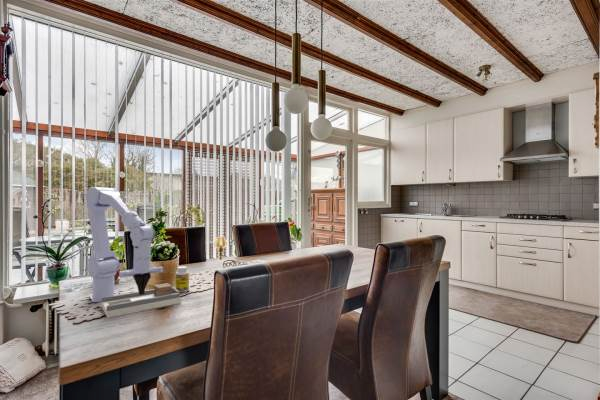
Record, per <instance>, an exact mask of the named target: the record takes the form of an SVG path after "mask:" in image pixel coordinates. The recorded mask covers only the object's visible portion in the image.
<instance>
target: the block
mask: <svg viewBox="0 0 600 400" xmlns="http://www.w3.org/2000/svg"><path fill="white" fill-rule="evenodd" d="M153 286H154V288H153V289H154V296H156V297H158V296H163V295H169V294H172V287H173V285H171V284H170V283H168V282H166V283H165V282H163V283H159V284H154V285H153Z"/></svg>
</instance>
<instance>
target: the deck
mask: <svg viewBox="0 0 600 400" xmlns="http://www.w3.org/2000/svg"><path fill="white" fill-rule="evenodd" d="M100 303H101V304H100V306H101V309H102V311H103V312H104V314H105V316H106V318H107V319H109V318H115V317H118V316H122V315H123V316H124V315H128V314H133V313H139V312H144V311H148V310H152V309H158V308H163V307H164V308H165V307H169V306H173V305H178V304H181V303H182V297H181V292H179V291H178V290H176V289H175V287H174V286H172V294H169V295H163V296H158V297H156V296H154V288H152V289H145V292H144V294H142V295H140V294H139V291H138V290H137V291H133V292H128V293H121V294H115V295H113V296H107V297H102V301H100Z"/></svg>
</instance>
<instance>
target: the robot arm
mask: <svg viewBox="0 0 600 400" xmlns="http://www.w3.org/2000/svg"><path fill="white" fill-rule="evenodd" d="M84 196H85V201H86V209H87V210H88V217H89V224H90V231H91V232H90V233H91V237H92V239H91V240H92V243H93V244H92V246H93V254H91V256H89V258H88V259H87V269H86V270H87V273H88V275H89V276H90V278H92V294H90V295H89V297H90V300H91V302H92V303H98V302H101V301H102V297H107V296H113V295H116V294H115V283H114V275H115V274H116V272H117V271H118V270H119V269H120V266H121V265H120V261H119V259H118V257H117V256H118V255H117V252H116V253H114V252H112V251H113V250H111V246H110V240H109V234H108V233H109V232H108V226H107V225H108V224H107V219H106V211H107V210H108V209H110V208H112V209H113V210H114V211H115V212H116V213H117V214H118V215H119V216H120V217H121V220H120V221H121V223H122V224H123V225H124V227H126V228H127V230H128V231H129V232H130V234H129V237H130V239H131V242H132V244H131V245H132V246H133V262H132V264H133V267H132V269H127V270H120V272H119V277H118V278H119V279H123V278H126V277H133V279H134V282H135V284H136V286H137V292H138V291H139V294H140V295H142V294H144V292H145V290H146V288H147V285H148V283H149V281H150V279H151V277H152V274H156V273H159V274H160V273H163V272H164V267H163V266H152V267H151V262H152V261H151V257H152V240H153V239H154V237H155V233H156V231H155V229H154V227H153V225H152V224H147V223H145V221H143V219H141V217H140V216H139V214H138V213H137V212H135V211H131V210H130V209H129V208H128V206H127V205H126V204H125V202H124V201H123V200H122V198H121V192H119V189H117V188H115V187H95V186H91V187H89V188H88V189H87V191H86V193H85V194H84Z"/></svg>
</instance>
